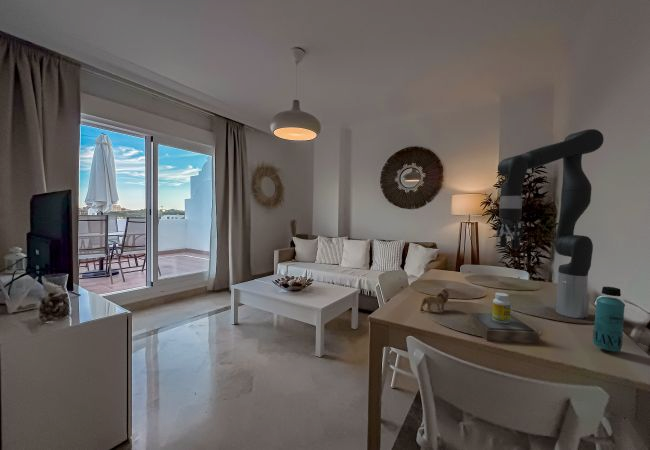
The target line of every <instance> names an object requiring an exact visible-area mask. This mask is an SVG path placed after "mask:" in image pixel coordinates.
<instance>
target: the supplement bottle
mask: <svg viewBox="0 0 650 450" xmlns="http://www.w3.org/2000/svg"><path fill="white" fill-rule="evenodd" d="M494 297H495V298H493V300H492V319H493V320H494V321H496V322H499V323H509V322H510V314H511V301H510V300H509V293H504V292H495V294H494Z"/></svg>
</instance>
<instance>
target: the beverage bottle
mask: <svg viewBox="0 0 650 450" xmlns="http://www.w3.org/2000/svg"><path fill="white" fill-rule="evenodd" d="M601 294H603V295H606V296H600V297H597V298H596V300H595V301H596V303H595V316H594V317H595V318H594V323H593V331H592V332H593V333H592V334H593V335H592V342H593V345H594V346H596V347H598V348H600V349H602V350H606V351H610V352H620V351H621V350H622V349H623V342H624V341H623V336H624V334H623V332H624V331H623V330H624V321H625V317H624V316H625V306H626V305H625V303H624V302H623V301H622V300H621V299H619V298H616V297H621V295H622V294H621V289H620V288H618V287H614V286H602V289H601ZM611 296H612V297H611Z"/></svg>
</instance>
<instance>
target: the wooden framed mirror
mask: <svg viewBox="0 0 650 450" xmlns="http://www.w3.org/2000/svg"><path fill="white" fill-rule="evenodd" d="M467 321H468V322H469V323H470V324H471V325H472V326H473V327H474V328H475V329H476V330H477V331H478V332H479V333H480V334H481V335H480V334H479V333H478V332H477V331H476V330H475V329H474V328H473V327H472V326H471V325H470V324H469V323H468V322H467V323H468V324H469V325H470V326H471V327H472V328H473V329H474V330H475V331H476V332H477V333H478V334H479V335H480V336H482V338H483V339H484V340H485V341H487V342H501V343H502V342H506V343H522V344H523V343H525V344H539V340H540V339H539V337H540V335H539V334H540V333H539V332H538V331H537V330H536V329H534V328H532V327H531V326H529V325H528V324H527V323H525V322H524V321H522V320H520V319H519V318H517V317H516V316H514V315H513V314H511V313H510V322H509V323H499V322H496V321H494V320H493V319H492V313H491V312H490V313H489V312H486V313H485V312H467Z"/></svg>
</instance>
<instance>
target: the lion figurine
mask: <svg viewBox="0 0 650 450" xmlns="http://www.w3.org/2000/svg"><path fill="white" fill-rule="evenodd" d="M449 297H450V293H449V291H448V289H447V288H444V287H443V288H440V289H439V291H438V294H437V295H430V294H429V295H425V296H424V297H423V299H422V300H421V304H420V308H419V309H420V311H419V312H423V311H424V308H423V307H424V306H425V305H427V310H428V312H429V313H433V310H431V306H432V305H436V309H437V310H440V309H441V312H445V311H446V310H445V309H444V308H445V304H446V303H447V302H448V301H449ZM440 306H441V308H440Z"/></svg>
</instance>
